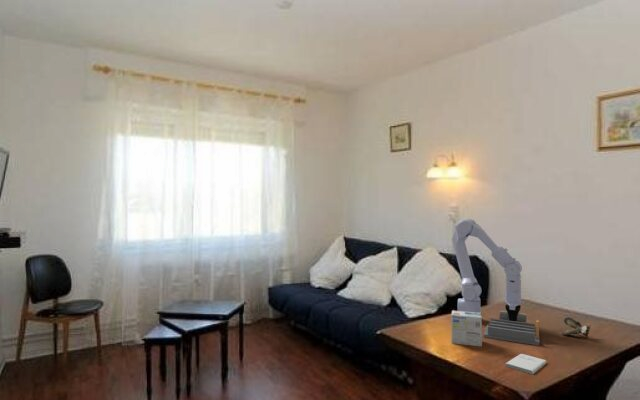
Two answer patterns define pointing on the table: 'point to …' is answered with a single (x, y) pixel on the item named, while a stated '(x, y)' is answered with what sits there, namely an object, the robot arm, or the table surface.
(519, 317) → the panel
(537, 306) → the table surface
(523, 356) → the external hard drive
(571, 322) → the eagle figurine
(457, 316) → the light bulb box
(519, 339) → the slot rack
